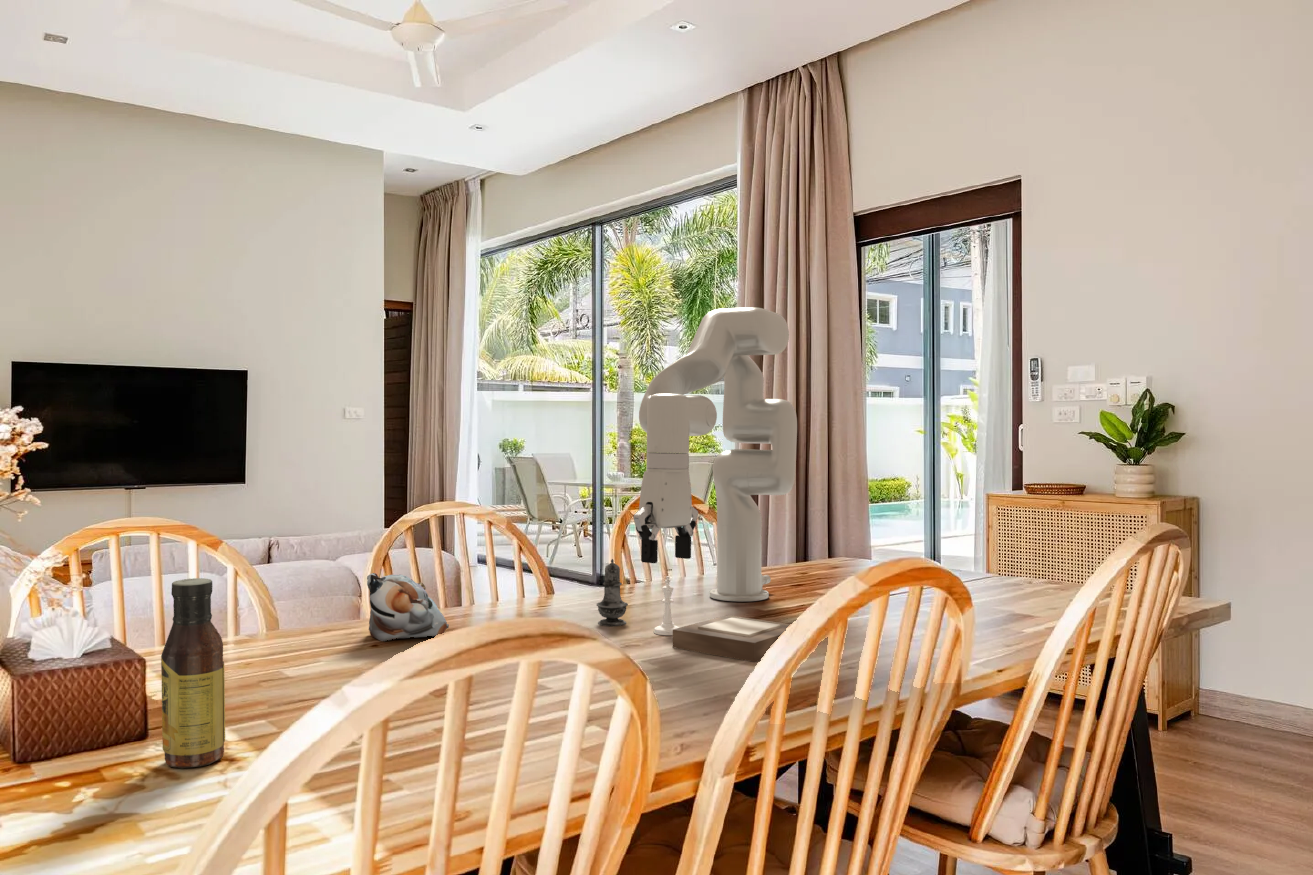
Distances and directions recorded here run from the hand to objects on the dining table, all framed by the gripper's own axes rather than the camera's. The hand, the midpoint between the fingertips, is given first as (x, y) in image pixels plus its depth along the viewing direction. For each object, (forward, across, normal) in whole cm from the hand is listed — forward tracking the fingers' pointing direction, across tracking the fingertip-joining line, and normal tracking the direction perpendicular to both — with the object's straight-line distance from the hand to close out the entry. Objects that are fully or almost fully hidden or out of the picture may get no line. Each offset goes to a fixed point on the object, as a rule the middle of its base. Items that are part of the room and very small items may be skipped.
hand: (666, 560), depth 176 cm
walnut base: (+13, 0, +16) cm, 20 cm away
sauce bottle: (+15, +85, +1) cm, 86 cm away
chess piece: (+13, -1, 0) cm, 13 cm away
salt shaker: (+13, -1, -13) cm, 19 cm away
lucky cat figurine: (+14, +31, -33) cm, 47 cm away
